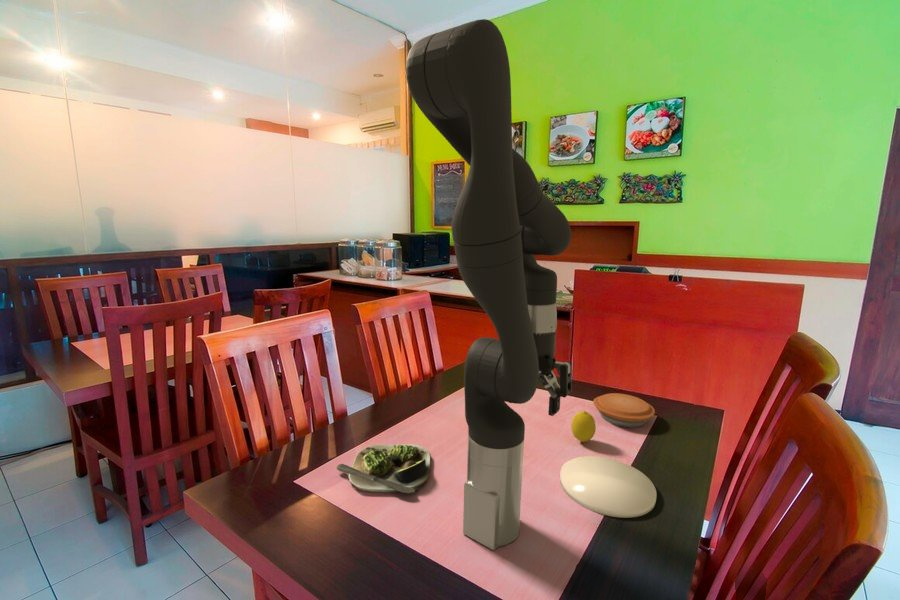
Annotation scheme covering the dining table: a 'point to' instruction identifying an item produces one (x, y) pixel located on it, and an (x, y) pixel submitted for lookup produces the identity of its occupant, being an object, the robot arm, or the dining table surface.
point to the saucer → (608, 486)
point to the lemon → (583, 426)
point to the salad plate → (389, 468)
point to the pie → (624, 409)
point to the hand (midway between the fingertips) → (531, 407)
